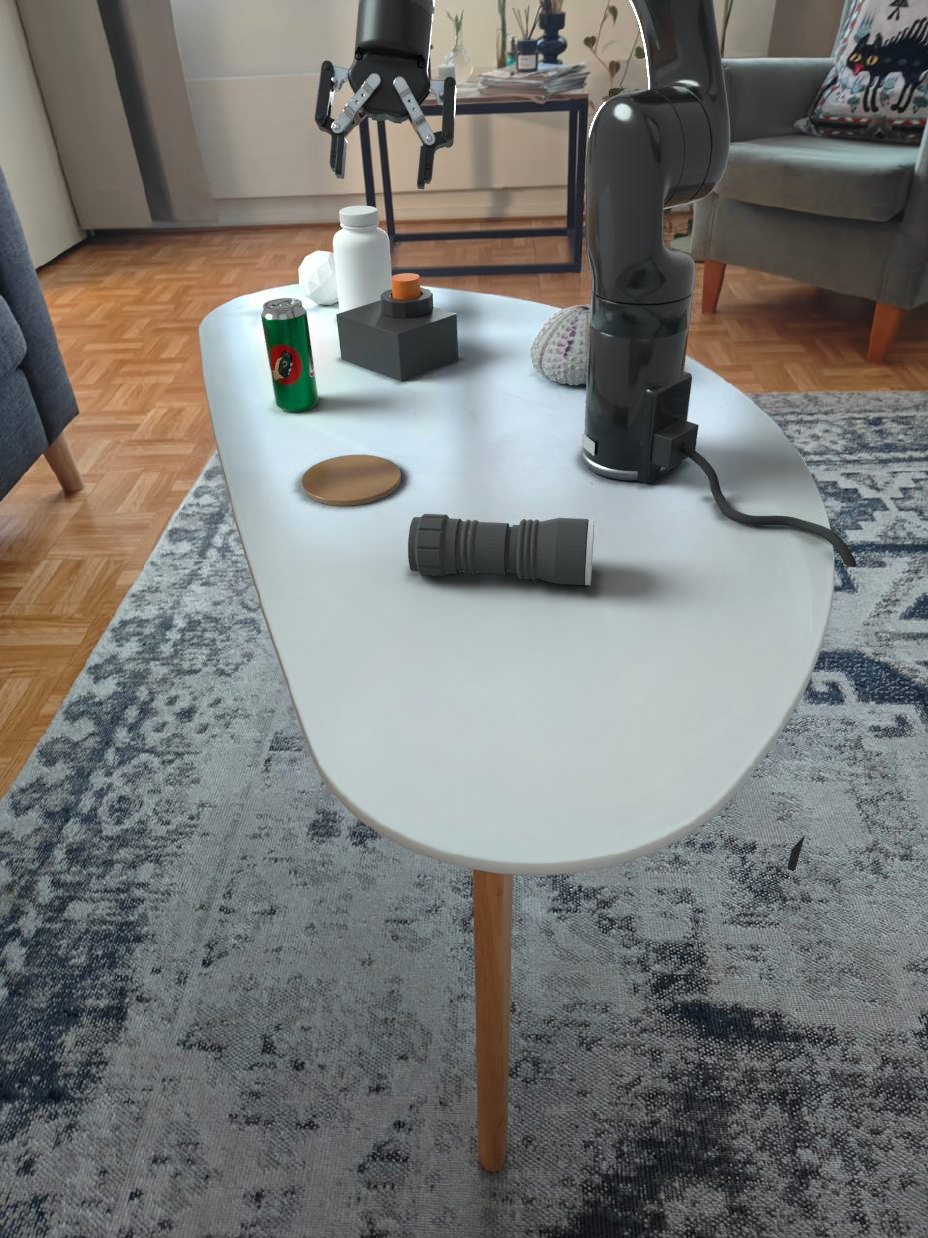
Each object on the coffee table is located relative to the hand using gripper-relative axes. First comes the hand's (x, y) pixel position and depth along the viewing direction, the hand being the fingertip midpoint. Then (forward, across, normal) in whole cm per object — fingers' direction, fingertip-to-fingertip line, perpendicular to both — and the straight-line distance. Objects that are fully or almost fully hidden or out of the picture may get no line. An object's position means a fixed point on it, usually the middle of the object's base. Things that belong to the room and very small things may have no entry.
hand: (380, 182), depth 94 cm
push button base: (+16, +2, +21) cm, 27 cm away
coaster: (+31, +1, -10) cm, 32 cm away
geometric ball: (+8, -12, +45) cm, 47 cm away
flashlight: (+36, +16, -26) cm, 47 cm away
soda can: (+24, -8, +9) cm, 27 cm away
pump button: (+9, +2, +19) cm, 21 cm away
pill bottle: (+10, -4, +37) cm, 39 cm away
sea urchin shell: (+16, +26, +15) cm, 34 cm away
